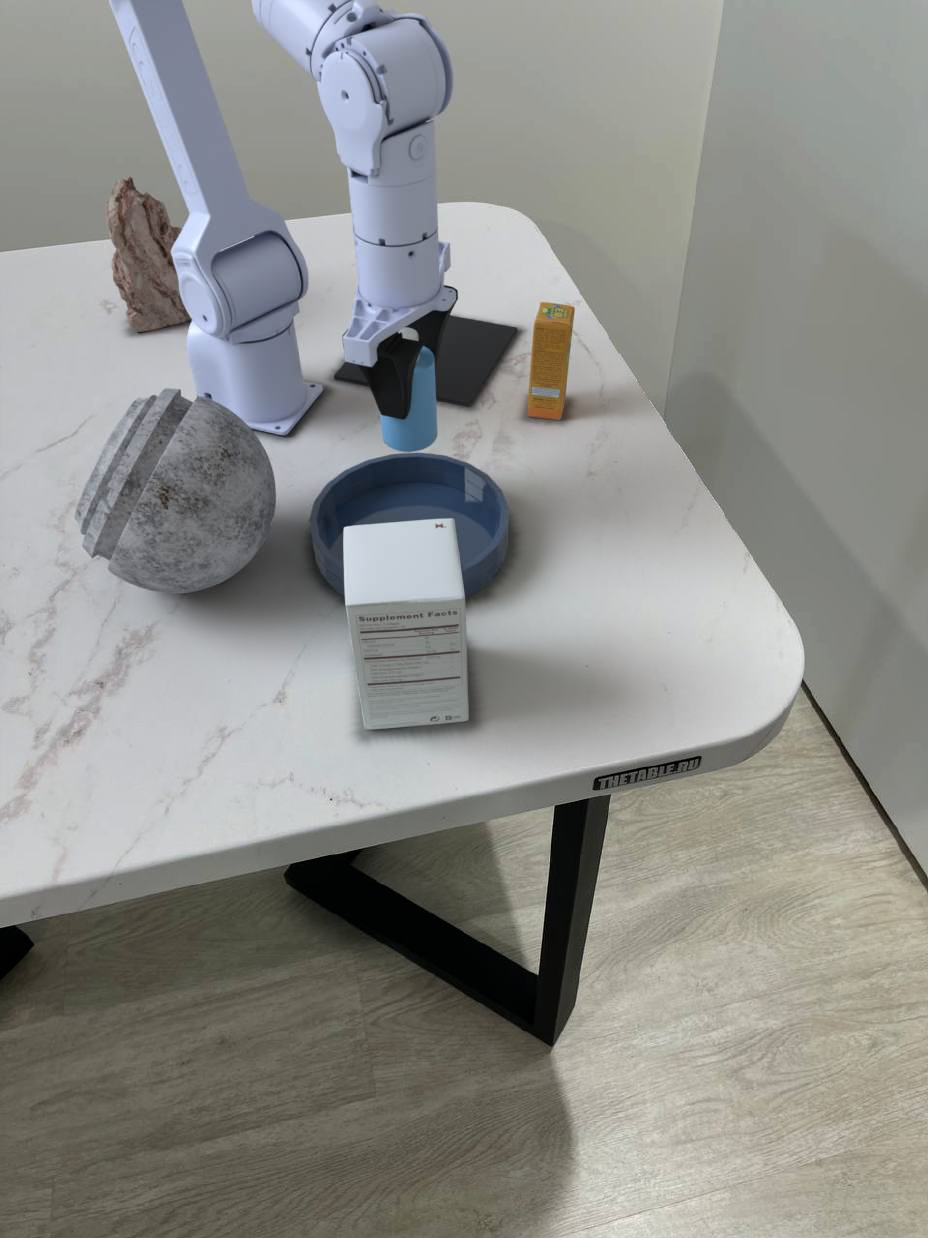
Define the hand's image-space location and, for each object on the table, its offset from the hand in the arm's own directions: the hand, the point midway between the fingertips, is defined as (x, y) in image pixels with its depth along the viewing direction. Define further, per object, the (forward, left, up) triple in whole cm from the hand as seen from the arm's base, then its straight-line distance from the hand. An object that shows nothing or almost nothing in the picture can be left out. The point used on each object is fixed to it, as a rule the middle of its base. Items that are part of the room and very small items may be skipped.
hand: (407, 397), depth 78 cm
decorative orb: (-13, -13, -11) cm, 21 cm away
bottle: (0, 0, -4) cm, 4 cm away
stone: (-36, +20, -11) cm, 43 cm away
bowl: (+2, -5, -10) cm, 12 cm away
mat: (-7, +21, -10) cm, 25 cm away
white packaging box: (+8, -19, -11) cm, 23 cm away
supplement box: (+7, +16, -11) cm, 20 cm away
